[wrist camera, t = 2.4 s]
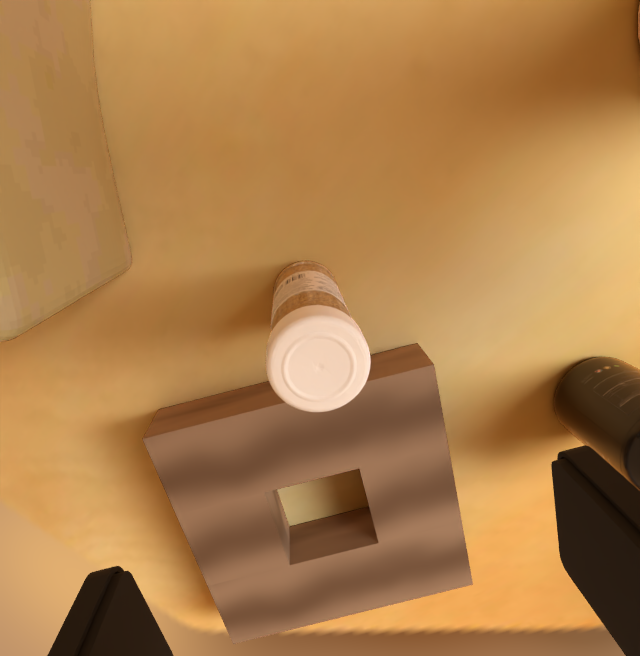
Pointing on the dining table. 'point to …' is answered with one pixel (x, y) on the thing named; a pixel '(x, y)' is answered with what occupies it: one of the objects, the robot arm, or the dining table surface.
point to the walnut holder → (306, 465)
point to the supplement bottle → (604, 411)
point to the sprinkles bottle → (314, 341)
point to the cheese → (52, 166)
